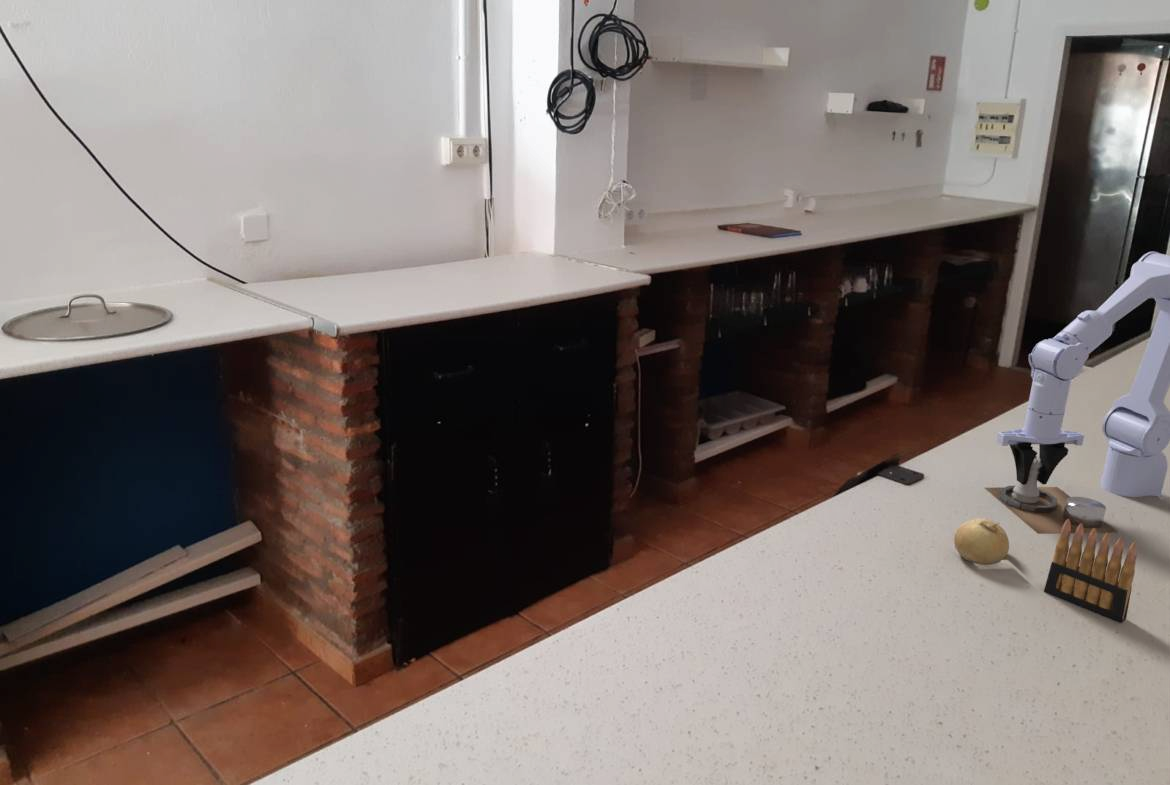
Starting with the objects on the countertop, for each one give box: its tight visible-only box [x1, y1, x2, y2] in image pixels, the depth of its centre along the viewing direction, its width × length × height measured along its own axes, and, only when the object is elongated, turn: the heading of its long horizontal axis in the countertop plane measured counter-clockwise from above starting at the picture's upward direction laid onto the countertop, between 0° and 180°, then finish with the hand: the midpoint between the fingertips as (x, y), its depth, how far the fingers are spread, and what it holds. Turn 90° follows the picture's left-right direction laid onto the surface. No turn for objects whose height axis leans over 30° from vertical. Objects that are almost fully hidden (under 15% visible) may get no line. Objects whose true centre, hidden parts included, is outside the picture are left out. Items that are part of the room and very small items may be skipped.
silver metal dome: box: [1063, 496, 1107, 528], centre depth 155 cm, size 6×6×3 cm
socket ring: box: [1000, 485, 1057, 513], centre depth 162 cm, size 9×9×1 cm
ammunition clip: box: [1043, 519, 1138, 624], centre depth 130 cm, size 11×2×12 cm, turn 41°
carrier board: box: [984, 486, 1119, 535], centre depth 160 cm, size 14×18×1 cm
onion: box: [953, 517, 1010, 566], centre depth 143 cm, size 8×8×7 cm
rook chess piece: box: [1012, 455, 1042, 504], centre depth 162 cm, size 4×4×8 cm
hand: (1031, 482), depth 161 cm, fingers closed on rook chess piece, 3 cm apart
